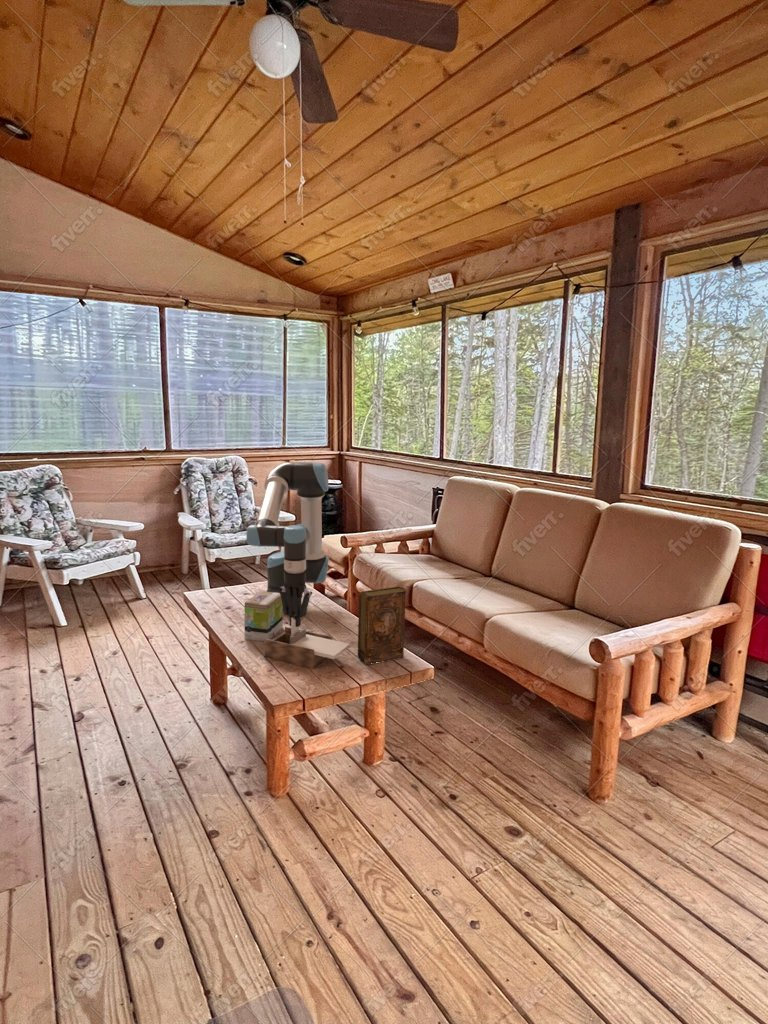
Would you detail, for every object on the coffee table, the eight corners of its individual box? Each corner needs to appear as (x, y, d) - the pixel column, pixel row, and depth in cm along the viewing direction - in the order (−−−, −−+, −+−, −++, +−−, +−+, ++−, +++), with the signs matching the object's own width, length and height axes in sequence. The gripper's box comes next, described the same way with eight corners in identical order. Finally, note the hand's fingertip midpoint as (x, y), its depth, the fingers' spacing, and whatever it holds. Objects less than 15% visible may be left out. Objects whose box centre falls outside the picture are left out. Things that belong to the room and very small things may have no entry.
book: (398, 651, 214) (400, 586, 209) (405, 657, 209) (408, 590, 204) (357, 659, 206) (358, 591, 202) (364, 666, 201) (365, 596, 197)
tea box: (268, 642, 219) (268, 604, 216) (243, 639, 221) (243, 602, 218) (283, 627, 233) (283, 592, 231) (259, 625, 235) (259, 590, 233)
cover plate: (287, 648, 202) (287, 637, 201) (305, 637, 212) (305, 627, 211) (334, 659, 194) (334, 648, 194) (350, 647, 204) (350, 636, 204)
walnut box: (264, 657, 206) (264, 639, 205) (285, 643, 218) (285, 626, 217) (313, 669, 198) (313, 650, 197) (332, 654, 210) (332, 636, 208)
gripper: (273, 570, 202) (273, 634, 206) (305, 575, 197) (304, 642, 201) (285, 565, 209) (285, 627, 213) (316, 570, 203) (316, 634, 208)
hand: (295, 634), depth 207 cm, fingers closed
